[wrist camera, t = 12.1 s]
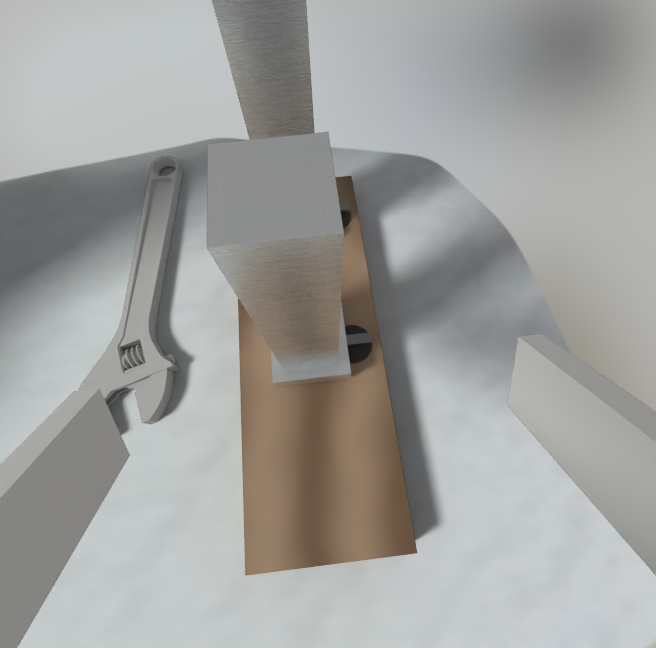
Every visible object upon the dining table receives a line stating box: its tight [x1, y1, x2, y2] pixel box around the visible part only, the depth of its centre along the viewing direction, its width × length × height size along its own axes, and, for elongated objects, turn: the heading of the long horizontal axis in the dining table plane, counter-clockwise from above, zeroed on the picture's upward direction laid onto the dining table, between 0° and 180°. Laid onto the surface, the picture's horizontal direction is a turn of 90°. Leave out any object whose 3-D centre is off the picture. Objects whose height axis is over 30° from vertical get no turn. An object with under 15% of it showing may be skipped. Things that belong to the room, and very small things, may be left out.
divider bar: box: [238, 176, 417, 575], centre depth 26 cm, size 10×28×2 cm, turn 7°
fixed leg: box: [212, 0, 350, 215], centre depth 21 cm, size 7×5×16 cm
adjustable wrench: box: [78, 156, 183, 424], centre depth 28 cm, size 25×6×2 cm, turn 177°
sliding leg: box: [207, 132, 372, 387], centre depth 17 cm, size 7×5×16 cm
